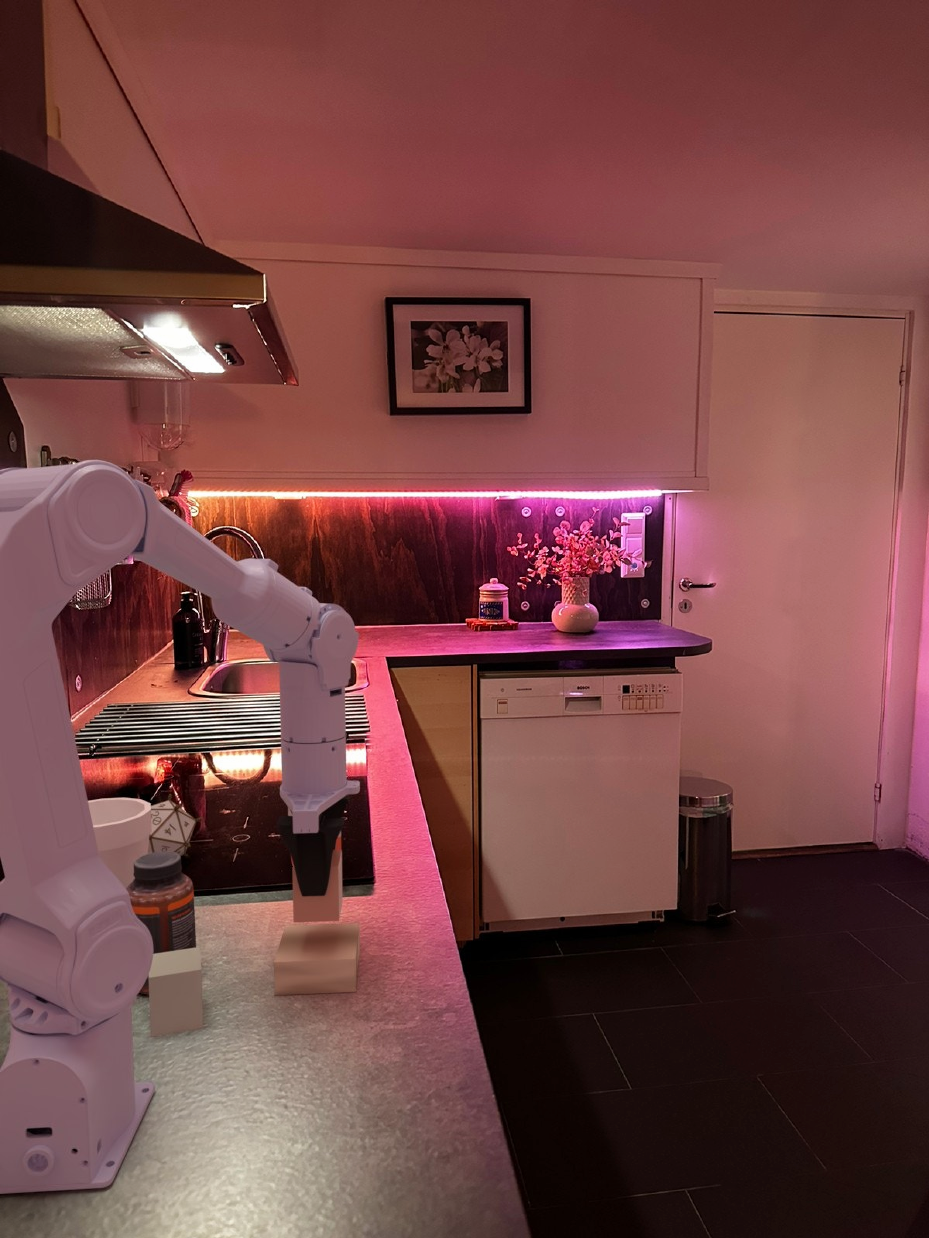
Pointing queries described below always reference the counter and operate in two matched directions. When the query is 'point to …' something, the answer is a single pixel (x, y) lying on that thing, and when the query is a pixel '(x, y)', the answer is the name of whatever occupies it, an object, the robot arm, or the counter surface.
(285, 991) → the birch slab
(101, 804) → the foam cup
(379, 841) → the counter surface
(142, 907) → the supplement bottle
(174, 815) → the game die
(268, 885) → the counter surface
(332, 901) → the terracotta block
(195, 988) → the beige block
